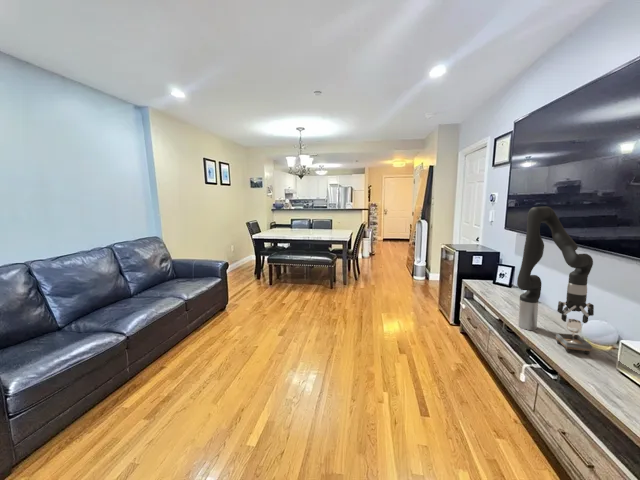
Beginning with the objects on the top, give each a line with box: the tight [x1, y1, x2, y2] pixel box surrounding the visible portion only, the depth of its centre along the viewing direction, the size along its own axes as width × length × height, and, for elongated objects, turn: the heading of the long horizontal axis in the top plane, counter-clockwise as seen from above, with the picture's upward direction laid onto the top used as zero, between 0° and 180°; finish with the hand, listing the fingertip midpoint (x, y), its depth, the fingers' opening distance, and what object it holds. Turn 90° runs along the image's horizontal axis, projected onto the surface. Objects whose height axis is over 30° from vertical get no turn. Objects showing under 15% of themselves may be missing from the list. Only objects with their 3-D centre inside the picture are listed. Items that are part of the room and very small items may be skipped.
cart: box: [555, 332, 593, 355], centre depth 146 cm, size 12×10×5 cm
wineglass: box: [566, 318, 583, 344], centre depth 145 cm, size 6×6×12 cm
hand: (574, 321), depth 145 cm, fingers open, 8 cm apart
